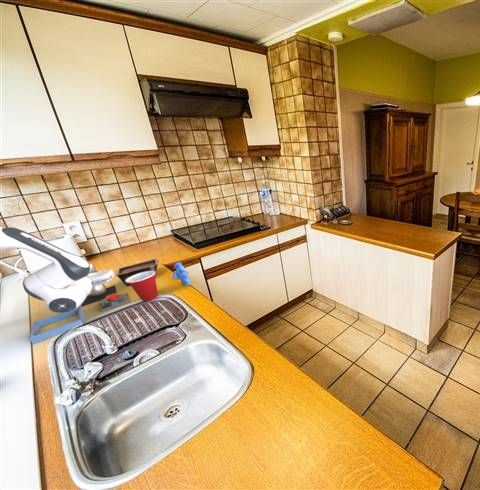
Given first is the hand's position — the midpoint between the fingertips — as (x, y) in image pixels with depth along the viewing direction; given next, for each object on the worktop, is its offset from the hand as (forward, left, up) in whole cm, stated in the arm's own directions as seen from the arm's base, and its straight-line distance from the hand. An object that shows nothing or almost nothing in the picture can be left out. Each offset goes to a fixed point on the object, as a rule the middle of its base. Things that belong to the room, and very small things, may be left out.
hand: (88, 273), depth 122 cm
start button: (+5, -16, -9) cm, 19 cm away
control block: (+5, -16, -12) cm, 20 cm away
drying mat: (0, -1, -12) cm, 12 cm away
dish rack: (-12, -20, -12) cm, 26 cm away
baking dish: (+17, +4, -12) cm, 21 cm away
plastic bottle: (0, -1, -11) cm, 11 cm away
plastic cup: (+17, -23, -12) cm, 31 cm away
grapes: (+30, -22, -12) cm, 39 cm away
